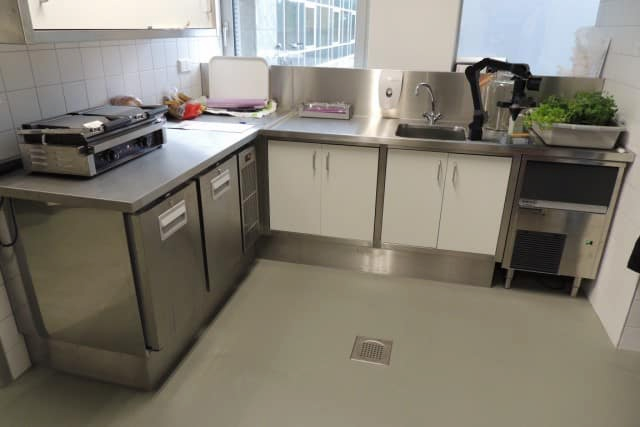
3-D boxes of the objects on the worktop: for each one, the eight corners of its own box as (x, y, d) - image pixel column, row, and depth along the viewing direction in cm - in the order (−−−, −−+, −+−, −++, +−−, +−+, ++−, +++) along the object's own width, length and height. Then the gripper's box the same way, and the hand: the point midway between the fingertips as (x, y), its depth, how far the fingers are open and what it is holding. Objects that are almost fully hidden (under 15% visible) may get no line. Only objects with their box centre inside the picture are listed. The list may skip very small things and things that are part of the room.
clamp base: (507, 146, 239) (509, 136, 237) (497, 141, 249) (498, 131, 247) (536, 145, 241) (538, 135, 239) (525, 141, 251) (527, 130, 249)
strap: (505, 137, 241) (506, 135, 241) (503, 136, 244) (503, 134, 243) (530, 136, 243) (530, 134, 242) (527, 135, 246) (527, 133, 245)
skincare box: (511, 137, 259) (515, 115, 254) (506, 135, 263) (510, 114, 258) (521, 136, 260) (525, 115, 256) (516, 135, 264) (520, 113, 260)
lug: (528, 145, 241) (530, 136, 239) (526, 144, 243) (527, 135, 241) (532, 145, 241) (534, 136, 239) (529, 144, 244) (531, 135, 242)
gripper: (509, 92, 223) (504, 124, 229) (545, 91, 226) (539, 123, 232) (498, 89, 234) (493, 120, 239) (532, 88, 236) (527, 119, 242)
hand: (513, 121), depth 238 cm, fingers closed
